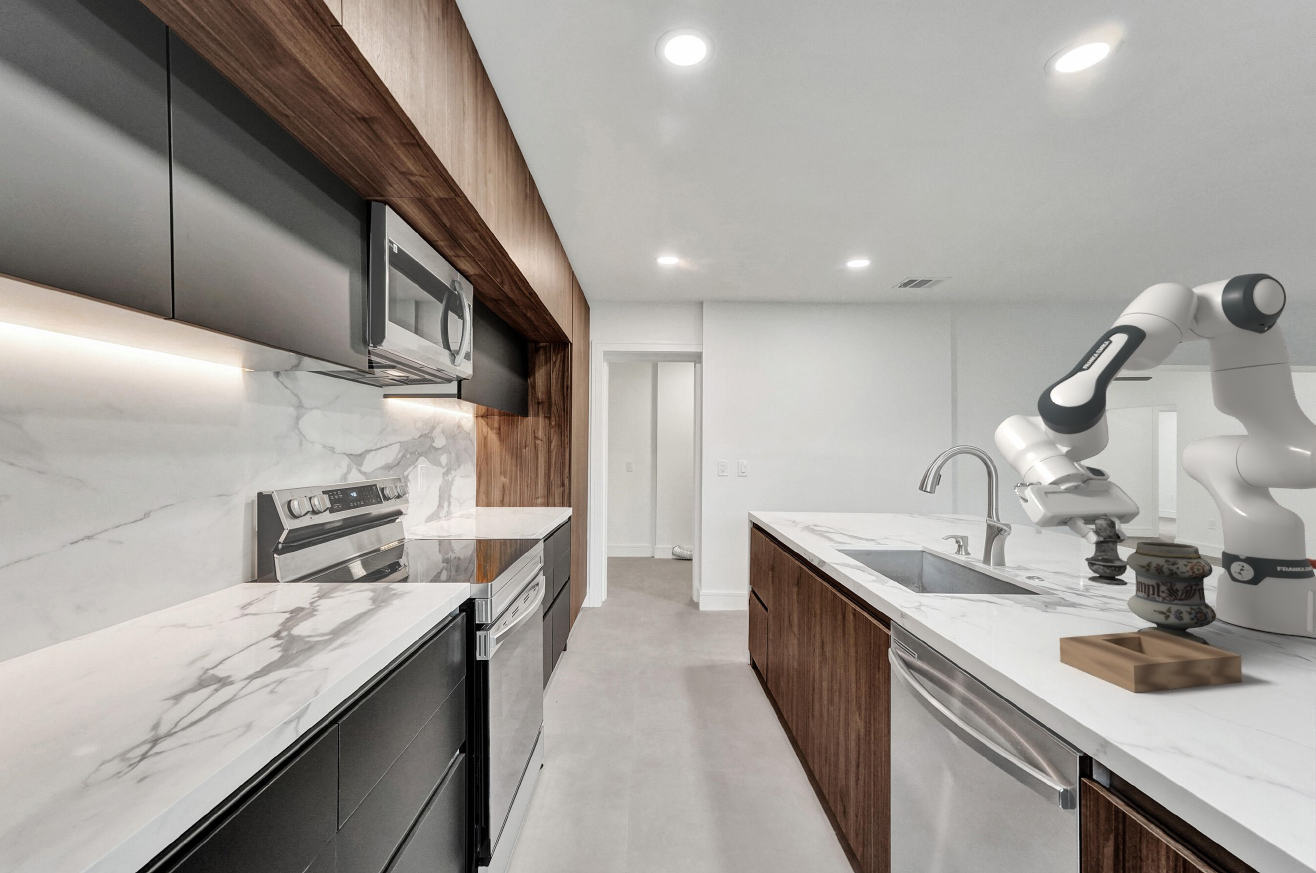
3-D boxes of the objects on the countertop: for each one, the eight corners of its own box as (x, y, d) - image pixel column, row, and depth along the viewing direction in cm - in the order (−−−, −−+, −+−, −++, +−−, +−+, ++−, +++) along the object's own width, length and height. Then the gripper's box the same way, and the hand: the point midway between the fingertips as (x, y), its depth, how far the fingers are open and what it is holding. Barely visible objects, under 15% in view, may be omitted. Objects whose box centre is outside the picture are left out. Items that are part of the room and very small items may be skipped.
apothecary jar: (1178, 629, 106) (1174, 539, 106) (1237, 652, 94) (1233, 550, 94) (1112, 628, 107) (1109, 538, 107) (1163, 650, 95) (1159, 549, 95)
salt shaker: (1113, 577, 95) (1110, 510, 95) (1139, 586, 89) (1136, 514, 89) (1077, 577, 95) (1075, 510, 96) (1101, 585, 90) (1098, 514, 90)
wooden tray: (1156, 652, 94) (1155, 630, 94) (1242, 681, 82) (1240, 655, 82) (1060, 661, 90) (1059, 637, 90) (1134, 692, 78) (1133, 665, 79)
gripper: (1018, 472, 98) (1069, 532, 88) (1112, 470, 101) (1171, 528, 91) (1000, 494, 102) (1047, 554, 92) (1090, 491, 105) (1145, 549, 96)
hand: (1109, 541), depth 92 cm, fingers closed on salt shaker, 4 cm apart
